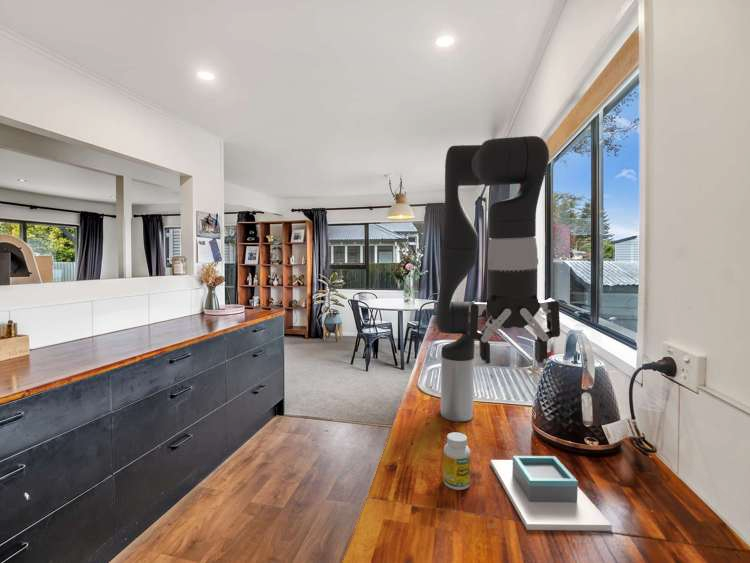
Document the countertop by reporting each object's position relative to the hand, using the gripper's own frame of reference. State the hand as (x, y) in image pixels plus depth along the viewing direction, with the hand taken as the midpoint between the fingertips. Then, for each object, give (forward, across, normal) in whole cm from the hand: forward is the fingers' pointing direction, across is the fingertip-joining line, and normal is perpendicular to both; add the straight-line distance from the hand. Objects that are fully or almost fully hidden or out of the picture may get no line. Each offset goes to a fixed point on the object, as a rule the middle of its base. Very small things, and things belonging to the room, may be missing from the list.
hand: (512, 361), depth 62 cm
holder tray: (+29, -7, -6) cm, 30 cm away
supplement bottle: (+28, +9, -8) cm, 31 cm away
